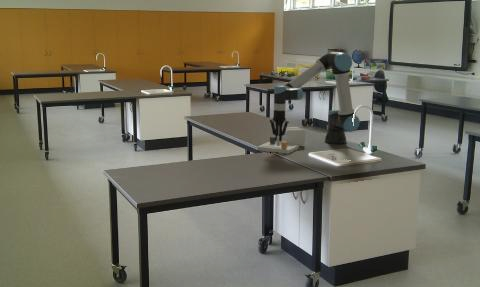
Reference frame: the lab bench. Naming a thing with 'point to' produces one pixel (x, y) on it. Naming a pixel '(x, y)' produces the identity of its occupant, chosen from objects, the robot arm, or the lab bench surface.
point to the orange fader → (284, 145)
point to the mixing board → (277, 148)
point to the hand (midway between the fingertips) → (278, 145)
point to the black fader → (272, 139)
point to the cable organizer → (294, 136)
